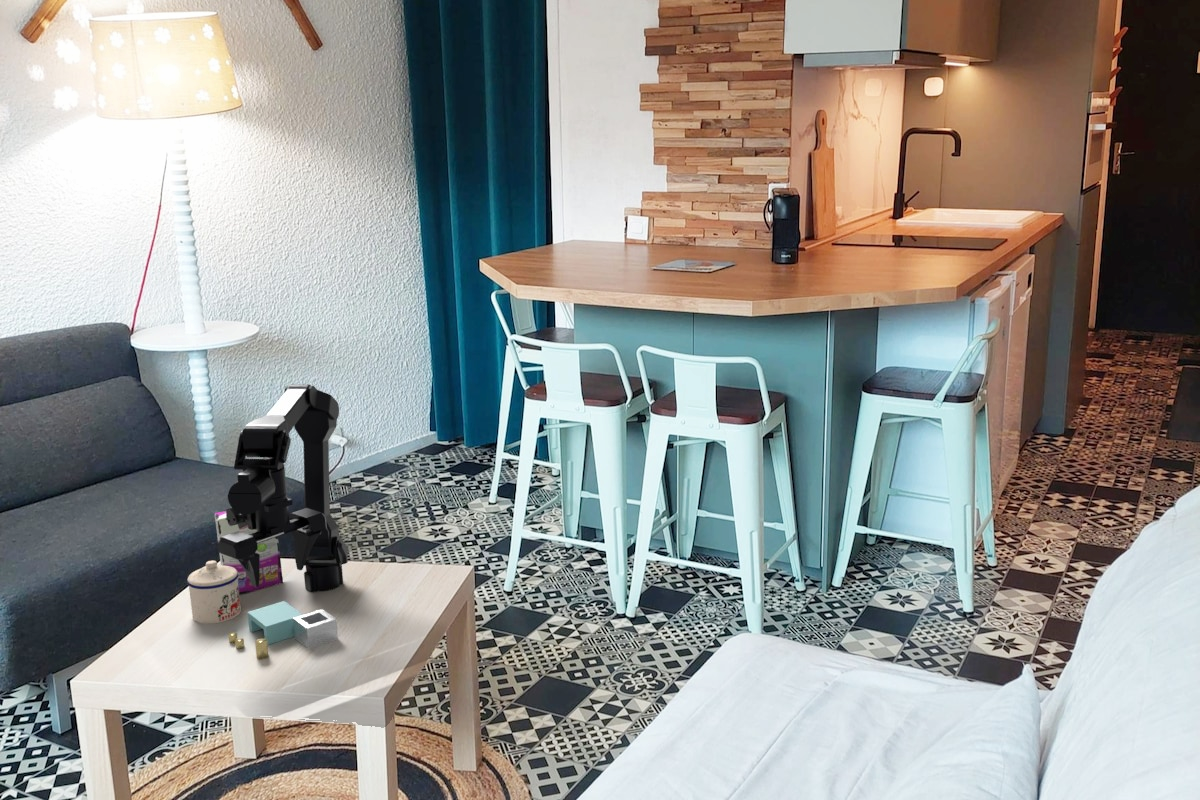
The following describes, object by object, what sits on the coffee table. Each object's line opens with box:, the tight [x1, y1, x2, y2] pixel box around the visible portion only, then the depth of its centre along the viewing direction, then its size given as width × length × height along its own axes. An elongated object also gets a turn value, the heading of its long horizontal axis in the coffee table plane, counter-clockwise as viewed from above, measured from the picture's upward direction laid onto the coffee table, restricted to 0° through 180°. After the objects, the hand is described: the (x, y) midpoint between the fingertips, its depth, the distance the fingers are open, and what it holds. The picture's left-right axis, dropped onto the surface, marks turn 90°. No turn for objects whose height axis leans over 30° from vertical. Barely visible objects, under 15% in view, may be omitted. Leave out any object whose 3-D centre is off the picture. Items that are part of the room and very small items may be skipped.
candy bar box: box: [214, 510, 284, 595], centre depth 219 cm, size 11×5×16 cm, turn 118°
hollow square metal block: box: [293, 608, 339, 650], centre depth 194 cm, size 6×6×4 cm
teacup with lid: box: [186, 560, 242, 624], centre depth 206 cm, size 12×9×12 cm
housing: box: [247, 600, 304, 646], centre depth 198 cm, size 7×8×4 cm
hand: (278, 578), depth 193 cm, fingers open, 9 cm apart
